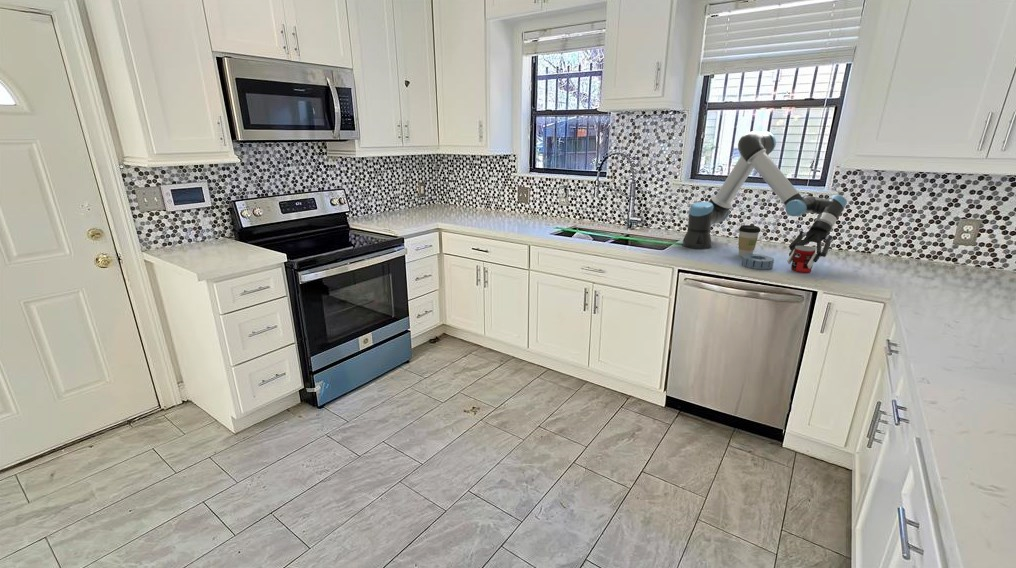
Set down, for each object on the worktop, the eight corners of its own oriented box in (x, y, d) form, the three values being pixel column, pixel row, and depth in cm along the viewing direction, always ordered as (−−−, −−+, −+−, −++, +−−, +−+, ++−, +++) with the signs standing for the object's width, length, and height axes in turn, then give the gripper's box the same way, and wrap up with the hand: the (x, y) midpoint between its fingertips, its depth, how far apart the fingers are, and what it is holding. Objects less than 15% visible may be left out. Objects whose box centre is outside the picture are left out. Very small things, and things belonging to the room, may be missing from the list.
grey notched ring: (736, 264, 223) (737, 256, 222) (751, 260, 230) (752, 252, 229) (762, 271, 213) (764, 262, 212) (777, 266, 220) (779, 258, 219)
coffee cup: (758, 258, 233) (763, 229, 228) (737, 257, 235) (741, 228, 230) (752, 253, 242) (757, 225, 237) (732, 252, 244) (736, 224, 239)
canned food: (791, 267, 218) (796, 244, 215) (811, 270, 214) (816, 247, 210) (789, 271, 212) (794, 248, 209) (810, 274, 208) (815, 250, 204)
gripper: (850, 234, 207) (825, 274, 204) (801, 226, 224) (777, 263, 221) (847, 223, 203) (821, 265, 200) (797, 216, 219) (773, 254, 216)
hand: (798, 264), depth 210 cm, fingers closed on canned food, 8 cm apart
